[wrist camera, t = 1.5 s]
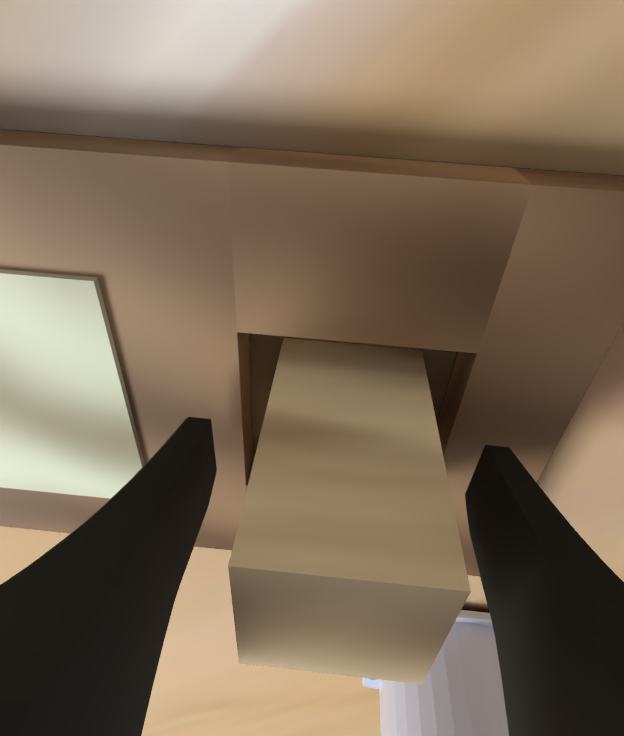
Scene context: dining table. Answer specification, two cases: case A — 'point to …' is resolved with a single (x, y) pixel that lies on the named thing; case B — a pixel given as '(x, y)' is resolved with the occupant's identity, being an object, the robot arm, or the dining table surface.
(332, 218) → the pocket board
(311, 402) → the maple block
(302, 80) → the dining table surface
